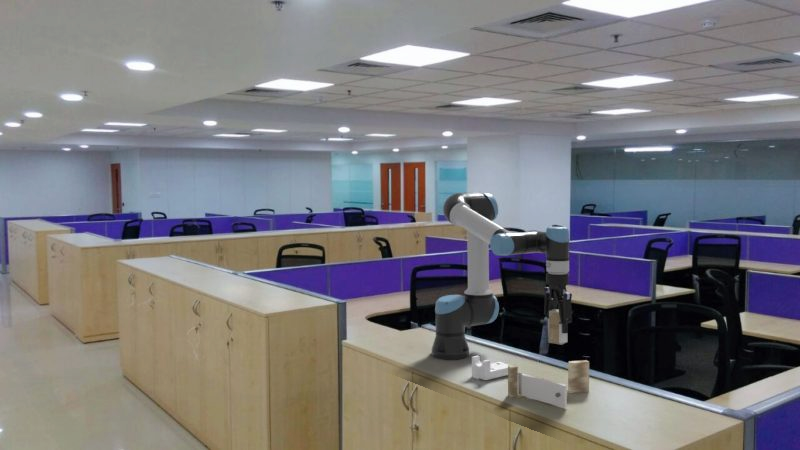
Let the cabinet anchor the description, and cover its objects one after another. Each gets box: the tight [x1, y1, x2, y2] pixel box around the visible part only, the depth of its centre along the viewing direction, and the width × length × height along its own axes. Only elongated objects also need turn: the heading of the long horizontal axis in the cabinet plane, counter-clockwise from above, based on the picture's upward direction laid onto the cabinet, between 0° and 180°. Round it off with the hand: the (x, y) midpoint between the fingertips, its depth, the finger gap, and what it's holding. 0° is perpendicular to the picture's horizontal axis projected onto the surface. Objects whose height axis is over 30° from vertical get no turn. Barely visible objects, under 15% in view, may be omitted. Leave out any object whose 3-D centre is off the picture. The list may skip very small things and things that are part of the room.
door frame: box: [507, 359, 590, 399], centre depth 197 cm, size 27×3×10 cm, turn 99°
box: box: [547, 308, 567, 346], centre depth 206 cm, size 5×4×11 cm
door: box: [518, 371, 568, 409], centre depth 190 cm, size 17×2×7 cm, turn 44°
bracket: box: [471, 355, 509, 381], centre depth 216 cm, size 13×7×8 cm, turn 121°
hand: (557, 339), depth 207 cm, fingers closed on box, 6 cm apart
